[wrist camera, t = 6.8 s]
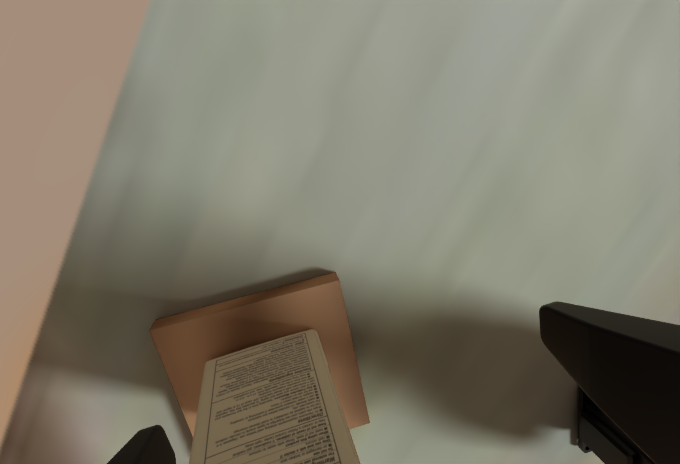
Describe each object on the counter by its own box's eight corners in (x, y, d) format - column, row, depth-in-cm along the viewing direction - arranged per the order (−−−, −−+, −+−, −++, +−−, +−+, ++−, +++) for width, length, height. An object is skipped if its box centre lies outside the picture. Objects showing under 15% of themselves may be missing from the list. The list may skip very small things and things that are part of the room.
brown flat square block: (332, 266, 22) (339, 280, 20) (361, 400, 25) (369, 422, 23) (159, 312, 21) (149, 330, 19) (212, 447, 24) (208, 475, 22)
